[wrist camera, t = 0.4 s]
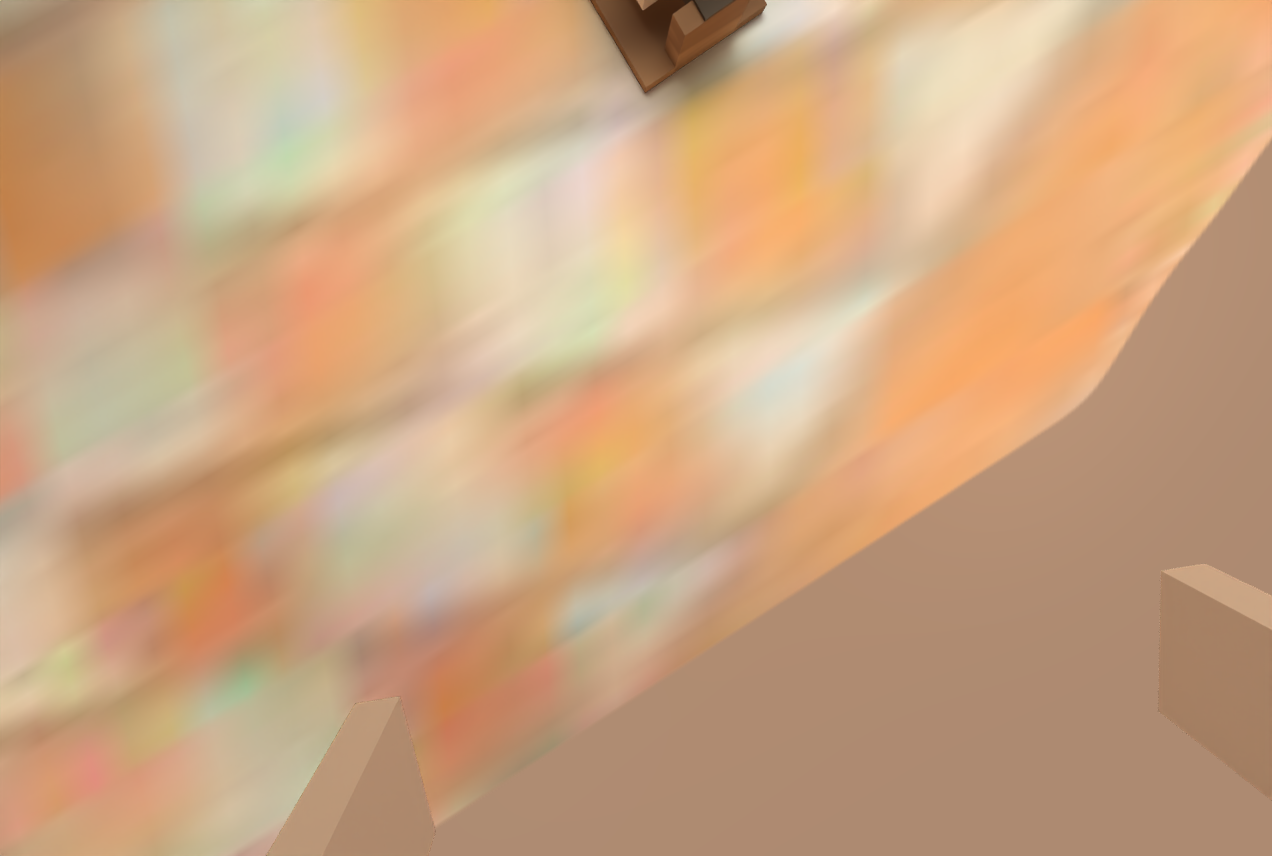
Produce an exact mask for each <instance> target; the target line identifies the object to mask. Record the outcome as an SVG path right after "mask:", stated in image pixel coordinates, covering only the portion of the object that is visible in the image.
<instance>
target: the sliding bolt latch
mask: <svg viewBox="0 0 1272 856" xmlns="http://www.w3.org/2000/svg"><path fill="white" fill-rule="evenodd" d="M591 2H592V3H593V5H594V7H595V8H596V10H597V12H598V14H599V15H600V17H601V19H602V20H603V22H604V24H605V25H606V27H607V29H608V31H609V32H610V34H611V36H612V37H613V39H614V41H615V42H616V44H617V46H618V48H619V49H620V51H621V53H622V54H623V56H624V58H625V59H626V61H627V63H628V65H629V66H630V68H631V70H632V71H633V73H634V75H635V76H636V78H637V80H638V82H639V83H640V85H641V87H642V88H643V90H644V92H645V93H646V92H647V91H648V90H650V89H651V88H653V87H654V86H656V85H657V84H659V83H660V82H662V81H663V80H664V79H666V78H667V77H669V76H670V75H672V74H673V73H675V72H676V71H678V70H679V69H680V68H682V67H683V66H685V65H686V64H688V63H689V62H691V61H692V60H694V59H695V58H697V57H698V56H699V55H701V54H702V53H704V52H705V51H707V50H708V49H710V48H711V47H713V46H714V45H715V44H717V43H718V42H720V41H721V40H723V39H724V38H726V37H727V36H729V35H730V34H731V33H733V32H734V31H736V30H737V29H739V28H740V27H742V26H743V25H745V24H746V23H748V22H749V21H750V20H752V19H753V18H755V17H756V16H758V15H759V14H761V13H762V12H763V10H764V9H765V7H766V5H767V4H766V2H765V0H657V1H656V2H655V3H653V4H652V5H650V6H649V7H647V8H646V9H645V10H642V8H641V7H640V5H639V3H638V1H637V0H591Z"/></svg>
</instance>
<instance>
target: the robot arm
mask: <svg viewBox="0 0 1272 856" xmlns="http://www.w3.org/2000/svg"><path fill="white" fill-rule="evenodd" d="M1160 594H1161V595H1160V640H1159V642H1160V643H1159V691H1158V711H1159V712H1160V713H1161V714H1162V715H1164V716H1165V717H1166V718H1167V719H1169V720H1170V721H1171V722H1172V723H1174V724H1175V725H1176V726H1178V727H1179V728H1180V729H1181V730H1183V731H1184V732H1185V733H1186V734H1188V735H1189V736H1190V737H1191V738H1193V739H1194V740H1195V741H1197V742H1198V743H1199V744H1201V745H1202V746H1203V747H1204V748H1205V749H1207V750H1208V751H1209V752H1211V753H1212V754H1213V755H1214V756H1216V757H1217V758H1218V759H1220V760H1221V761H1222V762H1223V763H1224V764H1226V765H1227V766H1228V767H1230V768H1231V769H1232V770H1233V771H1235V772H1236V773H1237V774H1239V775H1240V776H1241V777H1242V778H1244V779H1245V780H1246V781H1247V782H1249V783H1250V784H1251V785H1252V786H1254V787H1255V788H1256V789H1257V790H1259V791H1260V792H1261V793H1263V794H1264V795H1265V796H1266V797H1268V798H1269V799H1270V800H1271V801H1272V596H1271V595H1269V594H1267V593H1265V592H1263V591H1261V590H1259V589H1257V588H1255V587H1253V586H1250V585H1248V584H1246V583H1244V582H1242V581H1240V580H1238V579H1236V578H1234V577H1232V576H1230V575H1228V574H1226V573H1223V572H1221V571H1219V570H1217V569H1215V568H1213V567H1211V566H1209V565H1207V564H1199V565H1193V566H1187V567H1181V568H1175V569H1168V570H1162V571H1161V590H1160ZM435 832H436V831H435V827H434V823H433V819H432V816H431V812H430V808H429V804H428V800H427V797H426V793H425V789H424V785H423V781H422V778H421V774H420V770H419V766H418V762H417V759H416V755H415V751H414V747H413V744H412V740H411V736H410V732H409V728H408V725H407V721H406V717H405V713H404V709H403V706H402V702H401V698H400V696H398V697H392V698H385V699H379V700H373V701H367V702H361V703H355V705H354V706H353V708H352V710H351V711H350V713H349V715H348V717H347V718H346V720H345V722H344V723H343V725H342V727H341V729H340V730H339V732H338V734H337V735H336V737H335V739H334V741H333V742H332V744H331V746H330V747H329V749H328V751H327V753H326V754H325V756H324V758H323V759H322V761H321V763H320V765H319V766H318V768H317V770H316V771H315V773H314V775H313V777H312V778H311V780H310V782H309V783H308V785H307V787H306V789H305V790H304V792H303V794H302V795H301V797H300V799H299V800H298V802H297V804H296V806H295V807H294V809H293V811H292V812H291V814H290V816H289V818H288V819H287V821H286V823H285V824H284V826H283V828H282V830H281V831H280V833H279V835H278V836H277V838H276V840H275V842H274V843H273V845H272V847H271V848H270V850H269V852H268V854H267V855H266V856H428V855H429V852H430V849H431V845H432V842H433V839H434V836H435Z"/></svg>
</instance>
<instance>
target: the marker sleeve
mask: <svg viewBox="0 0 1272 856" xmlns="http://www.w3.org/2000/svg"><path fill="white" fill-rule="evenodd" d="M637 1H638V3H639V5H640V7H641V8H642V10H645V9H646V8H647V7H649V6H650V5H652V4H653V3H655V2H656V1H657V0H637Z"/></svg>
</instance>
